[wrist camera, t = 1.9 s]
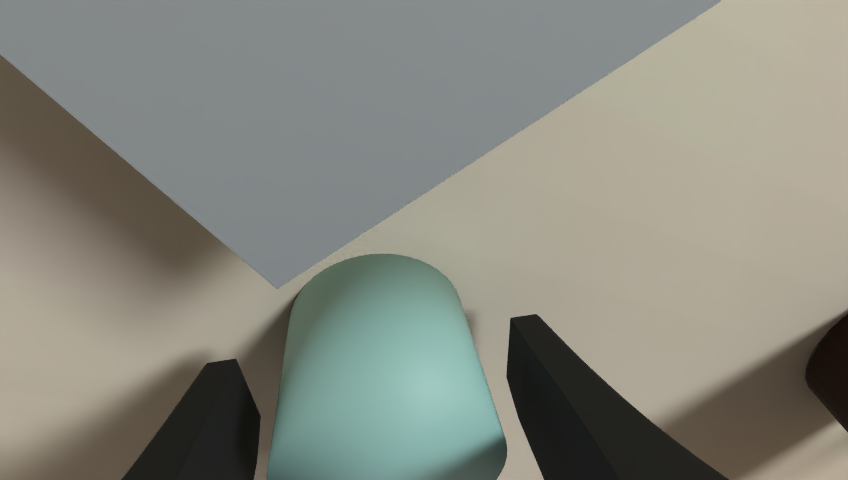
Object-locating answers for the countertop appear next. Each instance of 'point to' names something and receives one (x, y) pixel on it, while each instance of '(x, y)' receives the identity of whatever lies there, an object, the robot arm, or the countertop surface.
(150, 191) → the countertop surface
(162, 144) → the grey square slab
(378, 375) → the teal cylinder
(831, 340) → the coffee mug
